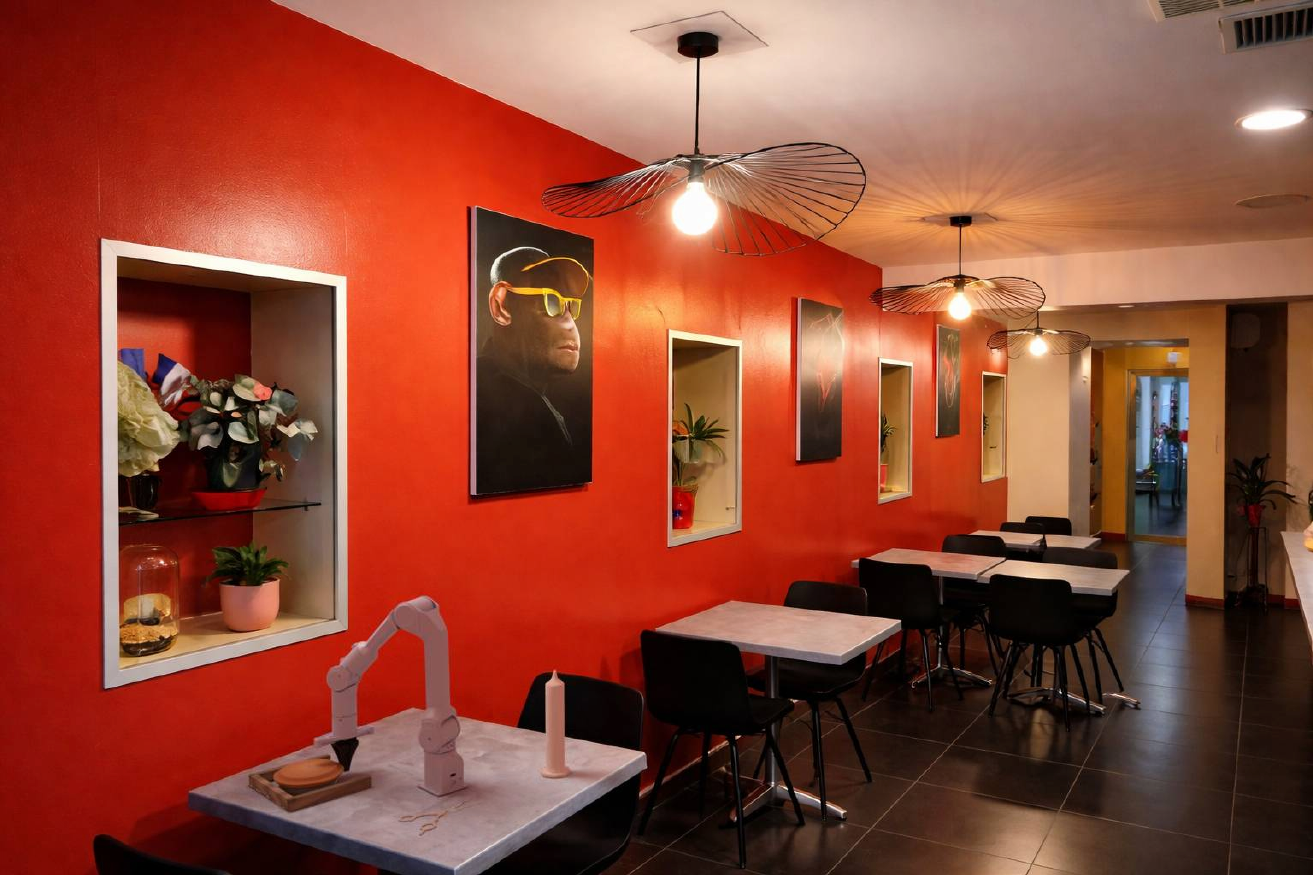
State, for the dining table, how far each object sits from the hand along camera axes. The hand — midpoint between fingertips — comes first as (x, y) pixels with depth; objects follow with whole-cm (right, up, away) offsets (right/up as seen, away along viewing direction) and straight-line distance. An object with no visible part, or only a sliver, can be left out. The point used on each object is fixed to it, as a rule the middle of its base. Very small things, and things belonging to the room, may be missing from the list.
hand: (344, 770), depth 226 cm
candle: (+51, -1, +1) cm, 51 cm away
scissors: (+29, -2, -22) cm, 36 cm away
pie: (-6, -2, -7) cm, 9 cm away
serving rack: (-6, -2, -6) cm, 8 cm away
